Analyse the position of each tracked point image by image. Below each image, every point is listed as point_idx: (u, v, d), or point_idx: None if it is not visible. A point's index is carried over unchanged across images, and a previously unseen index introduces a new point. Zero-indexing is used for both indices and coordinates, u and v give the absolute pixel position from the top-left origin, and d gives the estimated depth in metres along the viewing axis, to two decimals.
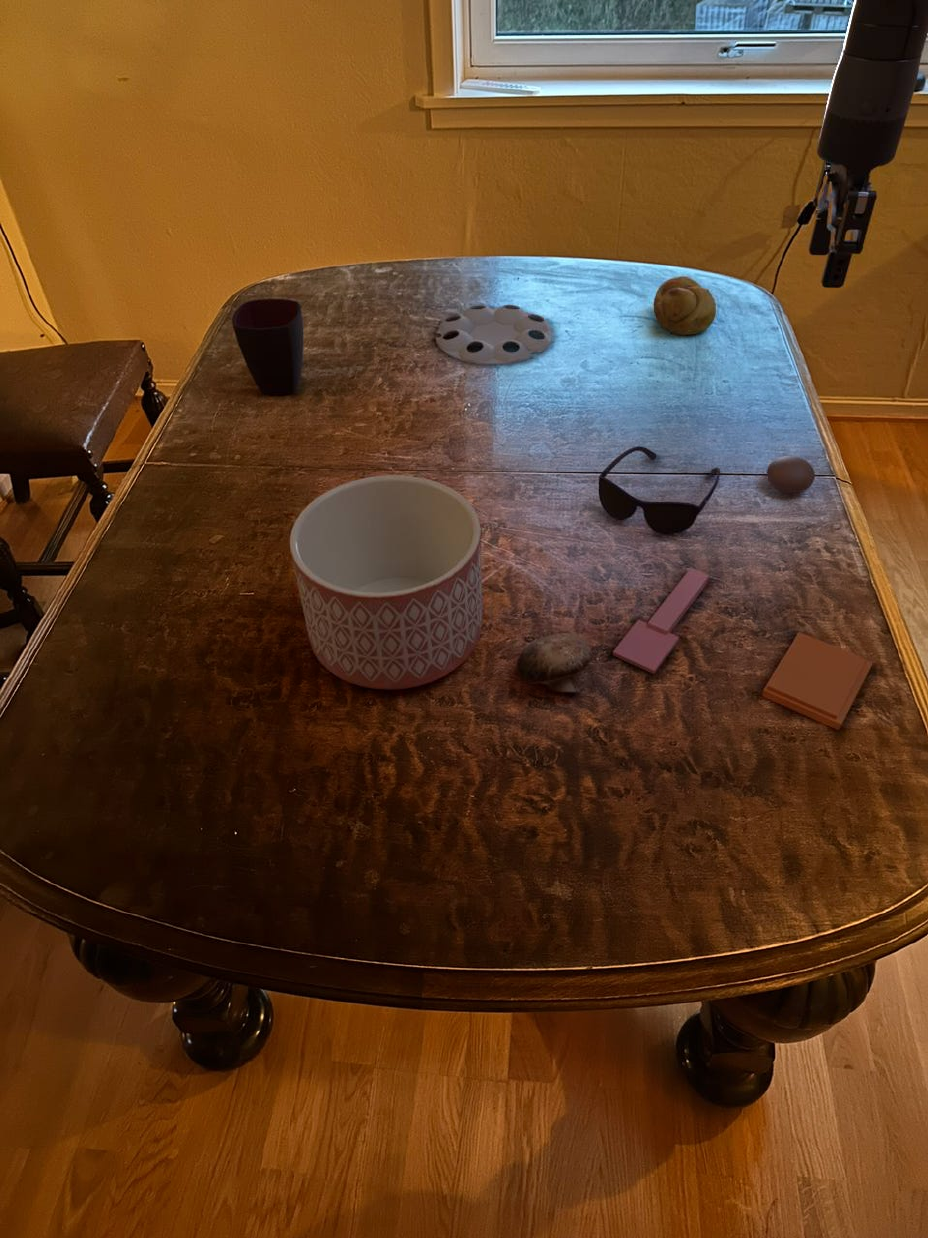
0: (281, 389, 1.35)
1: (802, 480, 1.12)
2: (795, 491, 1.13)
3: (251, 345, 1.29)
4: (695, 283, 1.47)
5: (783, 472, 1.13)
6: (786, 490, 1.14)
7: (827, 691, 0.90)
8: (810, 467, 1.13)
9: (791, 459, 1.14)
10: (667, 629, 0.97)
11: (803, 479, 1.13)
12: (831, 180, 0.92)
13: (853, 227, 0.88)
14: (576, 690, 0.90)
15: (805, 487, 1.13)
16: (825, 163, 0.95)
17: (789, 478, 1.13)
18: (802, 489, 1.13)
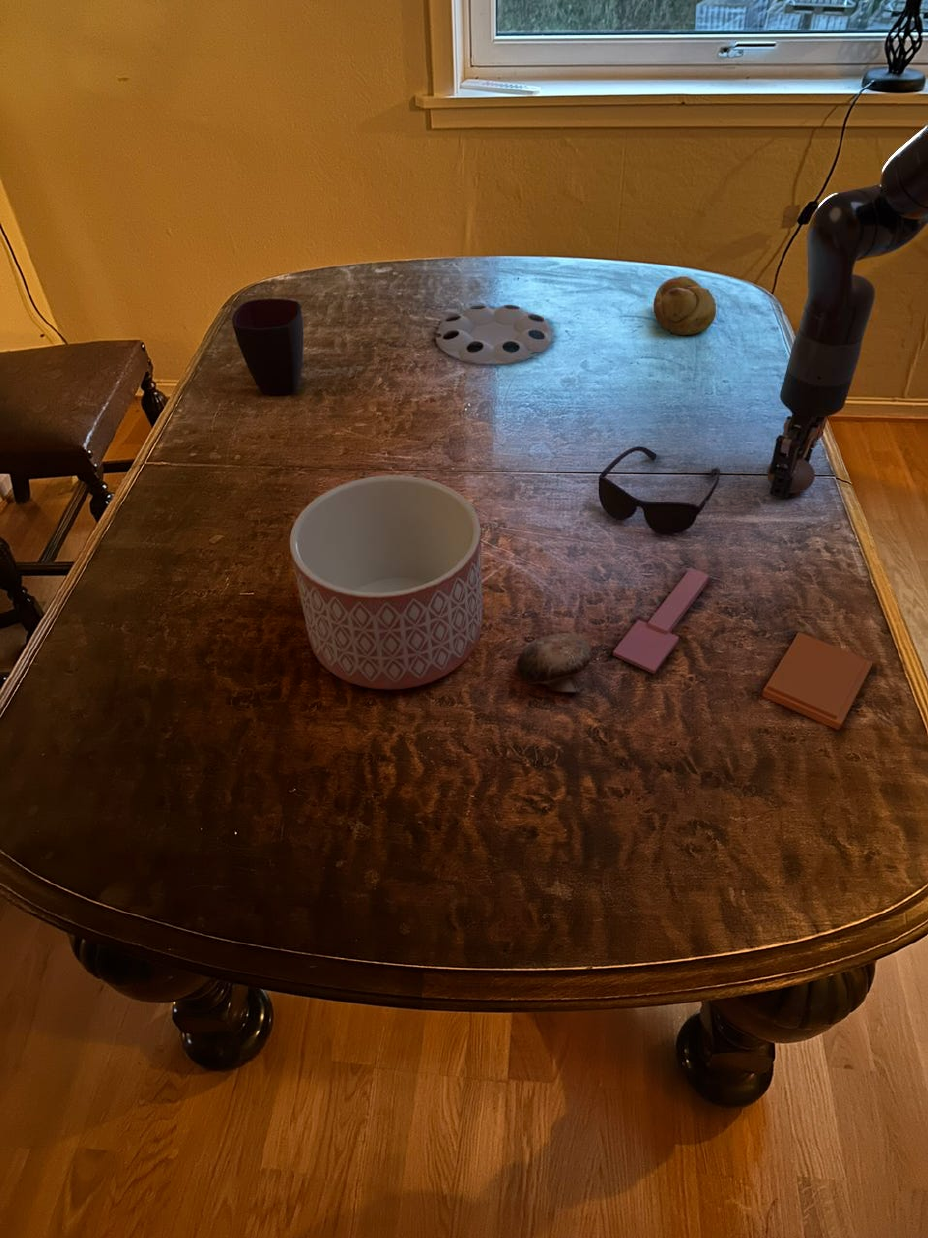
0: (281, 389, 1.35)
1: (802, 480, 1.12)
2: (795, 491, 1.13)
3: (251, 345, 1.29)
4: (695, 283, 1.47)
5: None
6: None
7: (827, 691, 0.90)
8: (810, 467, 1.13)
9: None
10: (667, 629, 0.97)
11: (803, 479, 1.13)
12: None
13: (780, 461, 1.07)
14: (576, 690, 0.90)
15: (805, 487, 1.13)
16: None
17: None
18: (802, 489, 1.13)
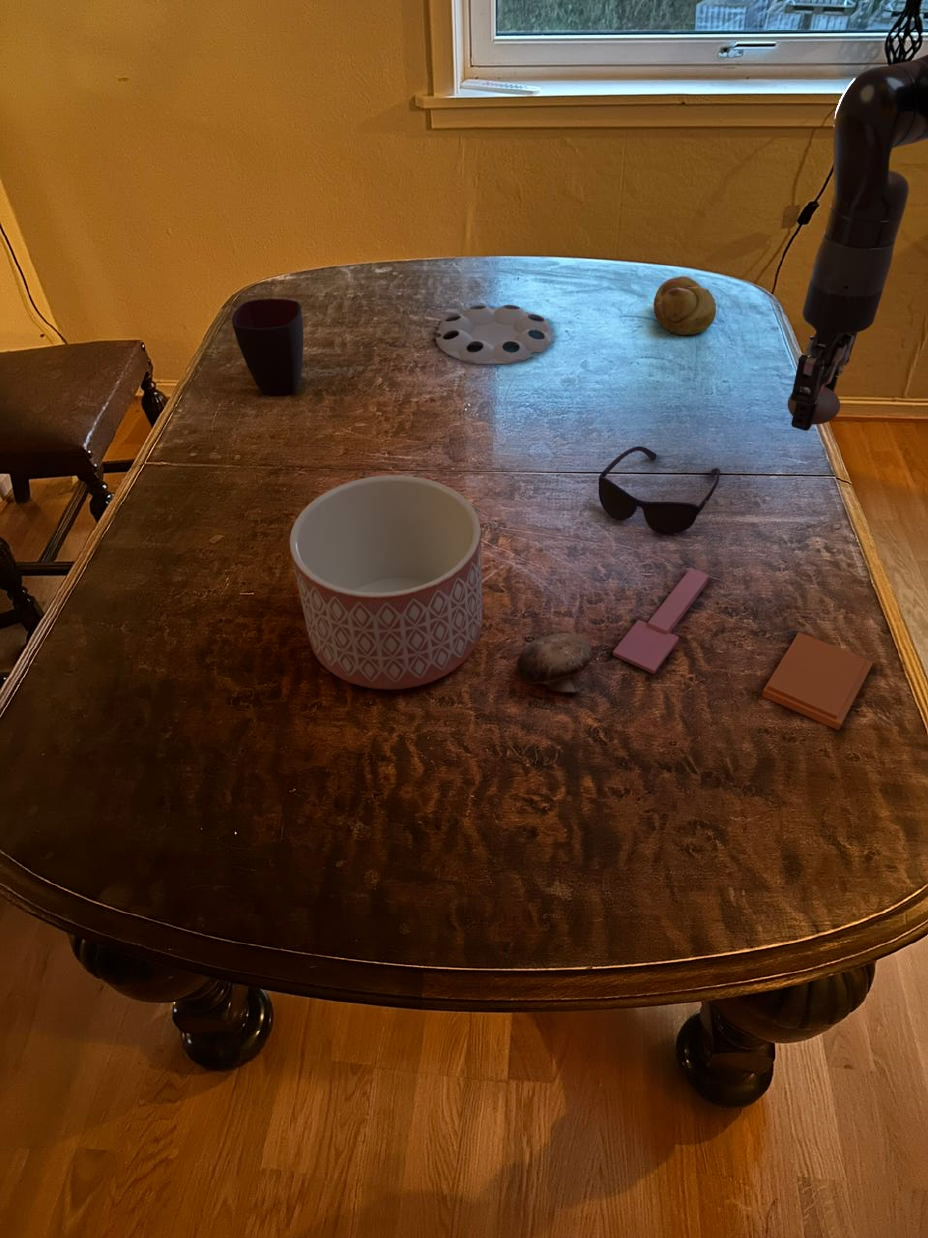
0: (281, 389, 1.35)
1: (826, 409, 1.03)
2: (819, 422, 1.04)
3: (251, 345, 1.29)
4: (695, 283, 1.47)
5: None
6: None
7: (827, 691, 0.90)
8: (835, 396, 1.04)
9: None
10: (667, 629, 0.97)
11: (828, 408, 1.03)
12: None
13: (803, 385, 0.98)
14: (576, 690, 0.90)
15: (830, 417, 1.04)
16: None
17: None
18: (826, 419, 1.04)
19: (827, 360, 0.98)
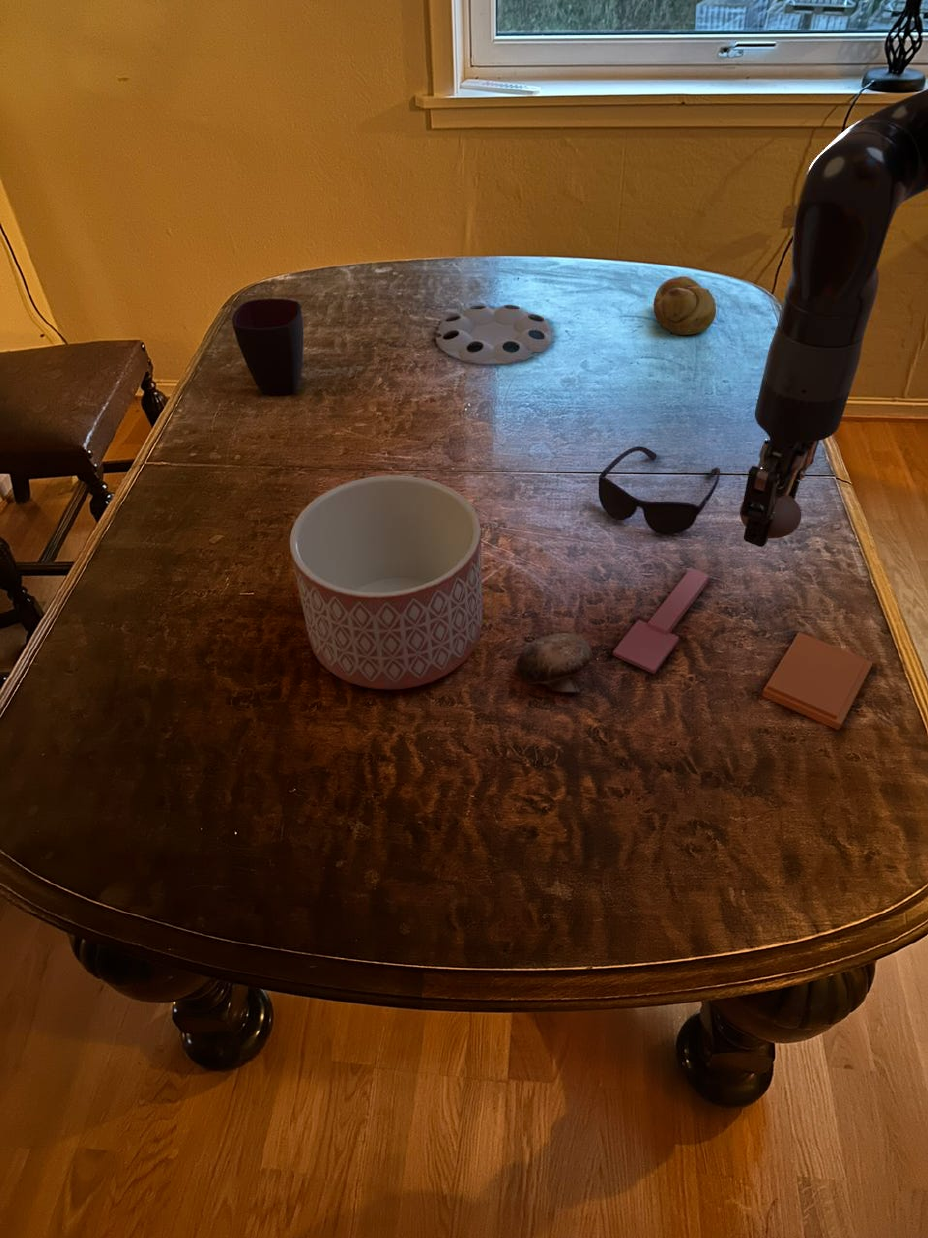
0: (281, 389, 1.35)
1: (784, 522, 0.86)
2: (776, 536, 0.87)
3: (251, 345, 1.29)
4: (695, 283, 1.47)
5: None
6: None
7: (827, 691, 0.90)
8: (795, 506, 0.87)
9: None
10: (667, 629, 0.97)
11: (786, 521, 0.86)
12: None
13: (754, 500, 0.81)
14: (576, 690, 0.90)
15: (789, 531, 0.87)
16: None
17: None
18: (785, 534, 0.87)
19: (784, 471, 0.81)
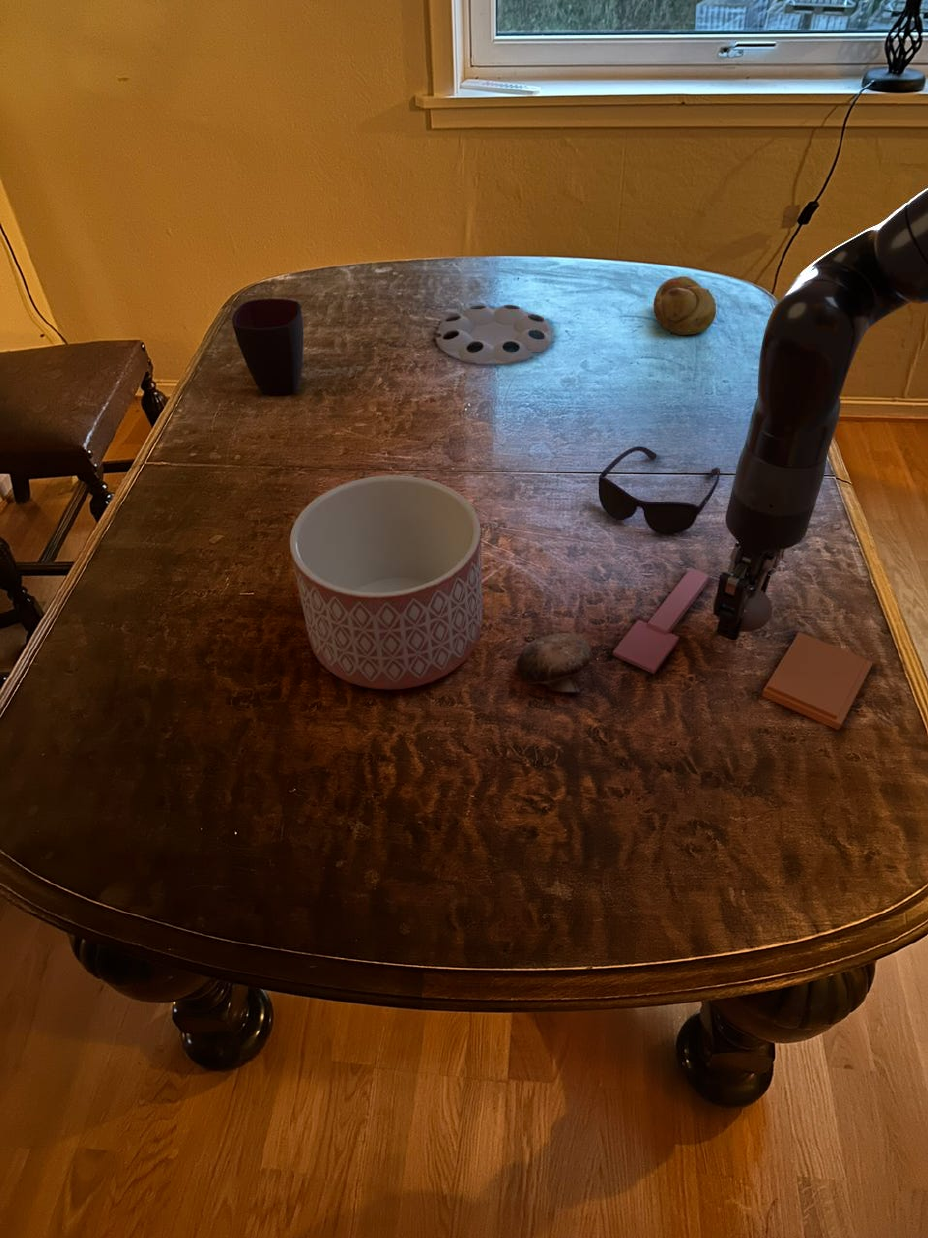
0: (281, 389, 1.35)
1: (755, 618, 0.90)
2: (747, 631, 0.91)
3: (251, 345, 1.29)
4: (695, 283, 1.47)
5: None
6: None
7: (827, 691, 0.90)
8: (766, 601, 0.91)
9: None
10: (667, 629, 0.97)
11: (757, 617, 0.90)
12: None
13: (725, 603, 0.85)
14: (576, 690, 0.90)
15: (760, 626, 0.90)
16: None
17: None
18: (756, 628, 0.90)
19: (753, 574, 0.85)
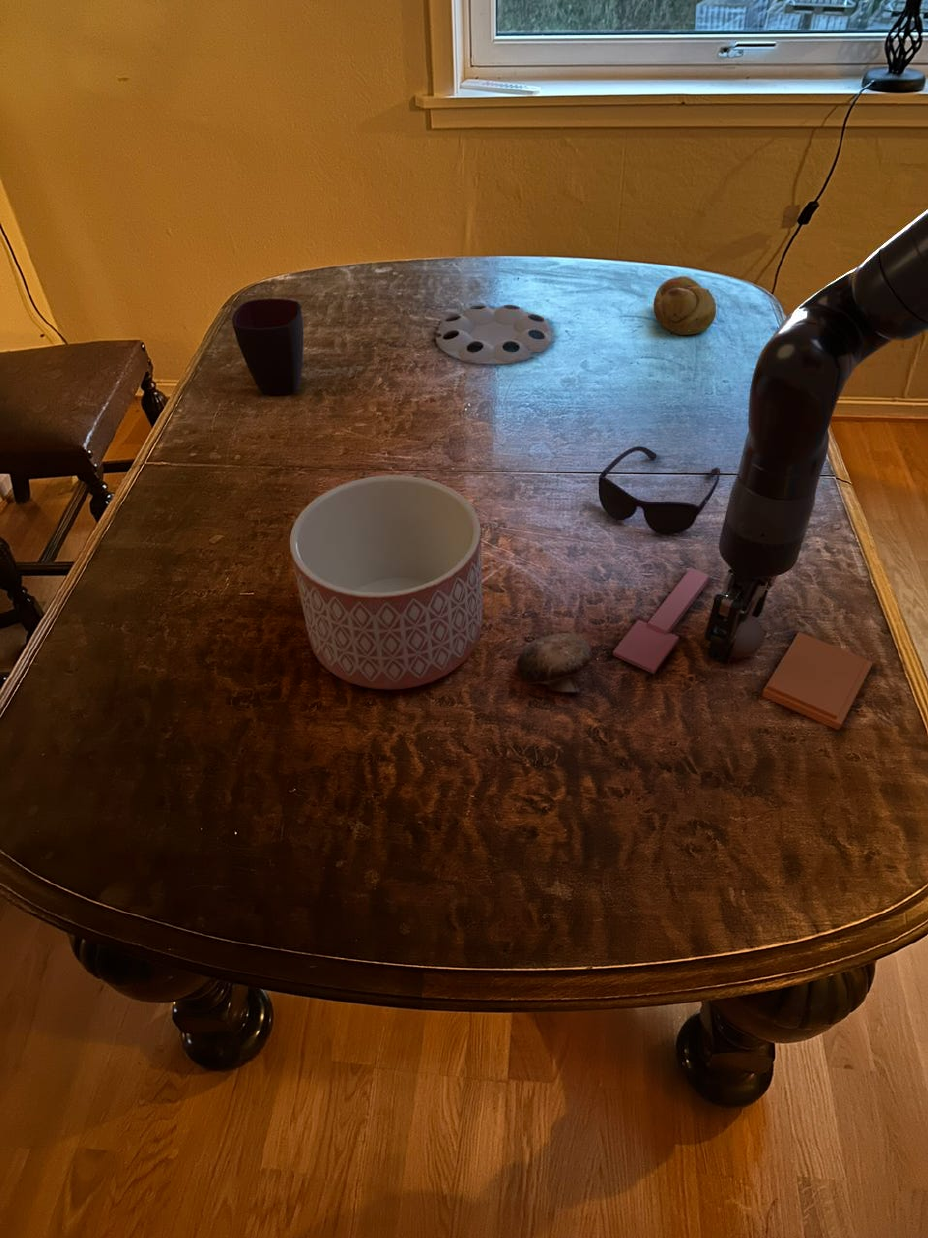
0: (281, 389, 1.35)
1: (748, 645, 0.92)
2: (740, 656, 0.93)
3: (251, 345, 1.29)
4: (695, 283, 1.47)
5: None
6: None
7: (827, 691, 0.90)
8: (758, 628, 0.93)
9: None
10: (667, 629, 0.97)
11: (749, 644, 0.92)
12: None
13: (717, 626, 0.86)
14: (576, 690, 0.90)
15: (752, 652, 0.93)
16: None
17: None
18: (748, 654, 0.93)
19: (746, 600, 0.87)
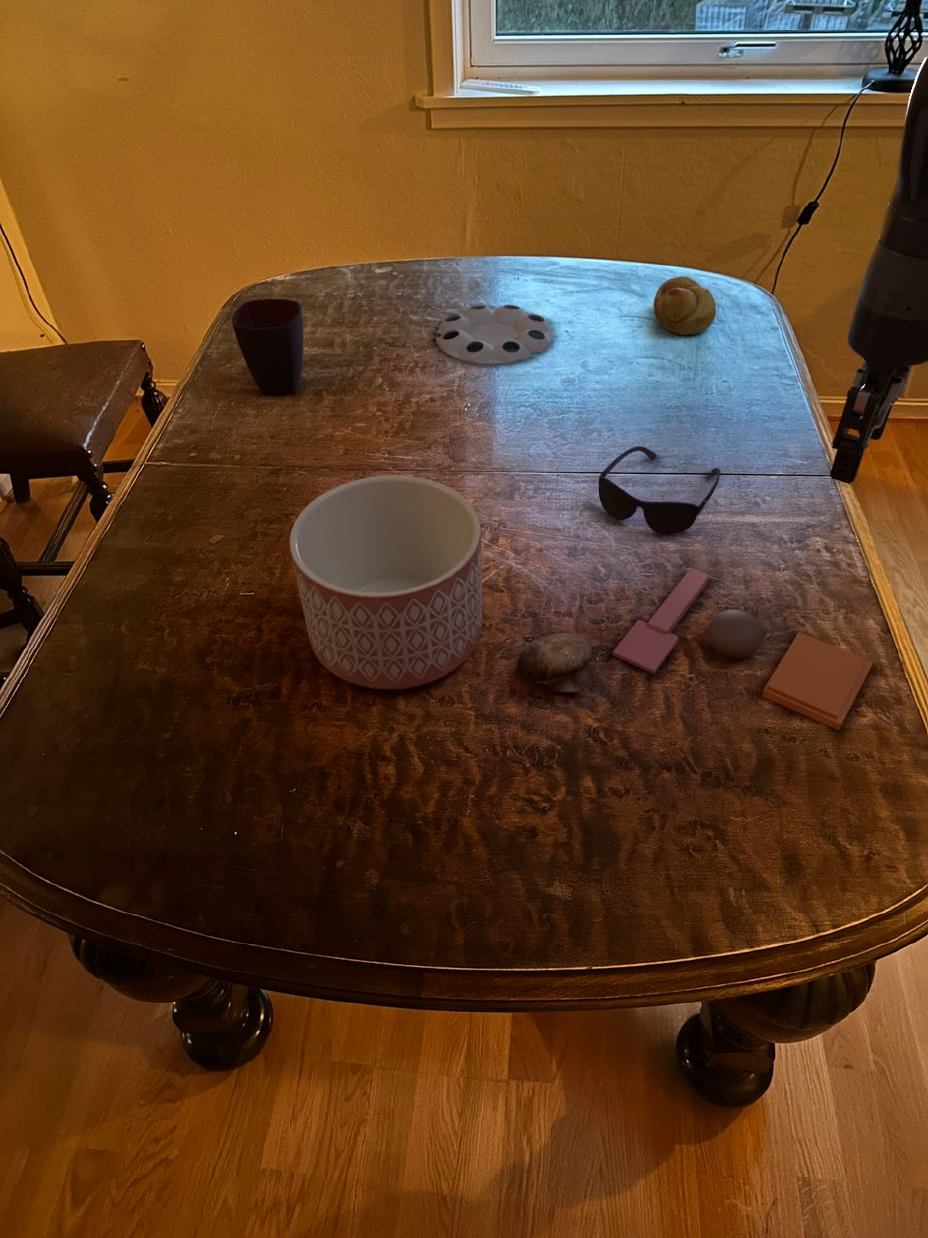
0: (281, 389, 1.35)
1: (748, 644, 0.92)
2: (740, 656, 0.93)
3: (251, 345, 1.29)
4: (695, 283, 1.47)
5: (725, 634, 0.93)
6: (729, 655, 0.93)
7: (827, 691, 0.90)
8: (758, 628, 0.93)
9: (735, 617, 0.94)
10: (667, 629, 0.97)
11: (749, 643, 0.92)
12: None
13: (850, 426, 0.77)
14: (576, 690, 0.90)
15: (752, 652, 0.93)
16: None
17: (732, 642, 0.92)
18: (748, 654, 0.93)
19: (880, 399, 0.78)
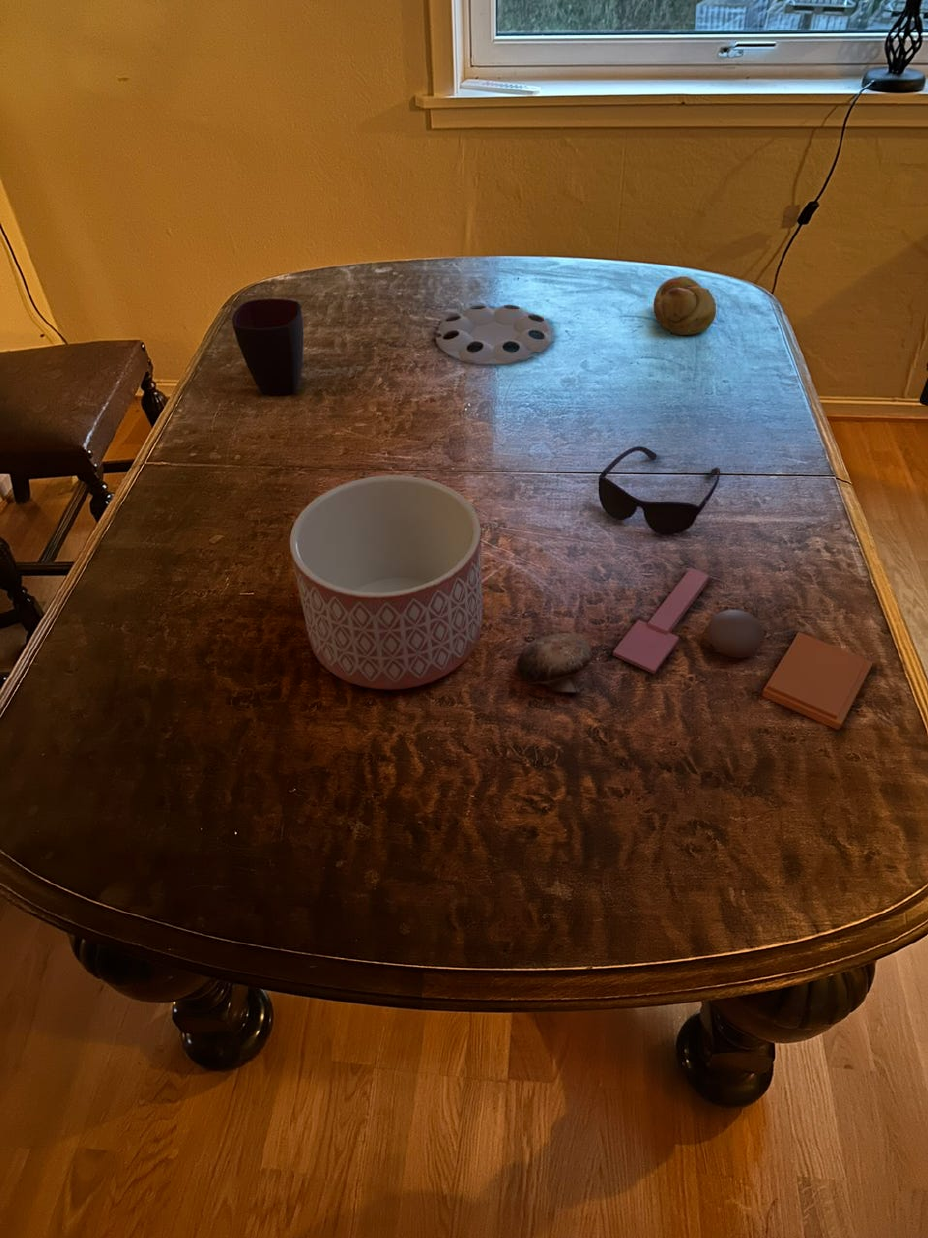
0: (281, 389, 1.35)
1: (748, 645, 0.92)
2: (740, 656, 0.93)
3: (251, 345, 1.29)
4: (695, 283, 1.47)
5: (725, 634, 0.93)
6: (729, 655, 0.93)
7: (827, 691, 0.90)
8: (758, 628, 0.93)
9: (735, 617, 0.94)
10: (667, 629, 0.97)
11: (749, 644, 0.92)
12: None
13: None
14: (576, 690, 0.90)
15: (752, 652, 0.93)
16: None
17: (732, 642, 0.92)
18: (748, 654, 0.93)
19: None
